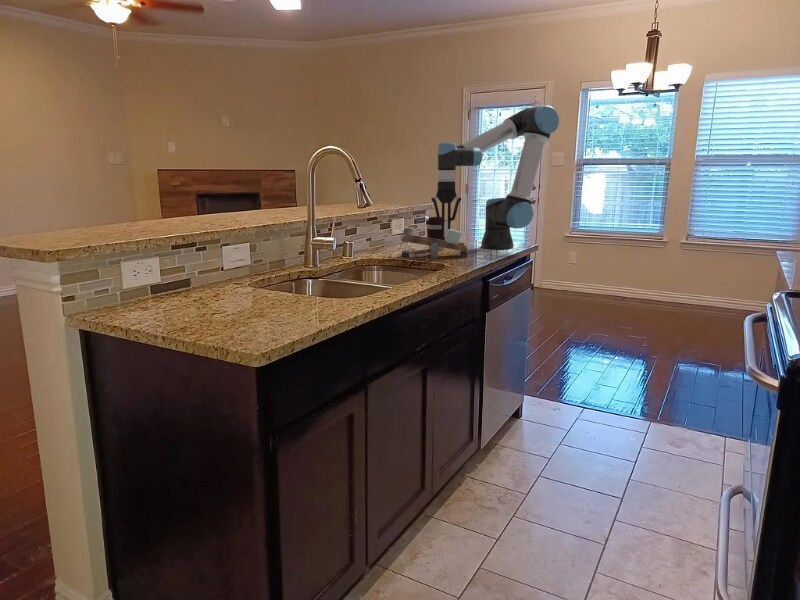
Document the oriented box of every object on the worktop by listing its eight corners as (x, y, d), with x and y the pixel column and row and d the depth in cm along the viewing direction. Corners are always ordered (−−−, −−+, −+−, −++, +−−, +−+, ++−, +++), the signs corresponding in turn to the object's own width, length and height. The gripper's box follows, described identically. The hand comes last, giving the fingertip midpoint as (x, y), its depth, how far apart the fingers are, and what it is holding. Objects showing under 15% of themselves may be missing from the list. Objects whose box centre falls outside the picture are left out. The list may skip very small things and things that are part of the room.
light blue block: (456, 245, 244) (460, 231, 242) (457, 246, 239) (461, 233, 238) (445, 242, 244) (449, 228, 242) (446, 243, 239) (450, 229, 238)
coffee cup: (423, 250, 259) (423, 218, 256) (428, 247, 269) (428, 216, 265) (444, 251, 257) (444, 218, 253) (449, 248, 266) (449, 216, 262)
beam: (465, 248, 246) (467, 235, 245) (466, 251, 238) (469, 238, 236) (402, 239, 247) (404, 226, 245) (401, 241, 238) (403, 228, 237)
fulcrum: (466, 254, 248) (466, 238, 247) (467, 258, 237) (467, 242, 235) (403, 254, 250) (402, 238, 248) (401, 258, 238) (401, 242, 237)
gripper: (461, 180, 239) (460, 235, 244) (431, 180, 239) (430, 235, 245) (462, 181, 231) (461, 237, 237) (431, 181, 232) (430, 237, 238)
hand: (445, 236), depth 241 cm, fingers closed
